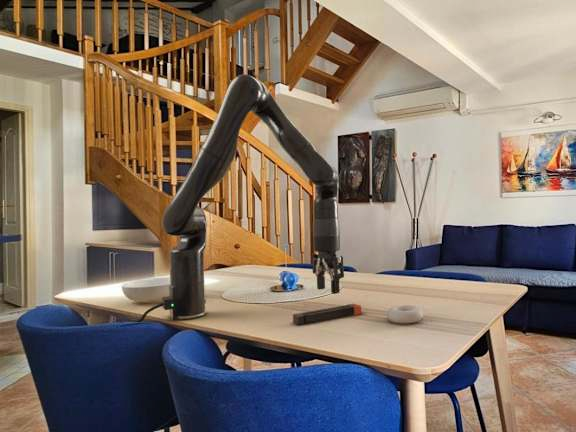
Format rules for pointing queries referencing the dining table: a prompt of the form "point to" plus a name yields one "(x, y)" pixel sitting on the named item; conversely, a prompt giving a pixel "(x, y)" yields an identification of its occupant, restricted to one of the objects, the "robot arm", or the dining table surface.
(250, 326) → the dining table surface
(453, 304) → the dining table surface
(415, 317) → the donut
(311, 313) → the dark rod red tip
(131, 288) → the serving bowl
